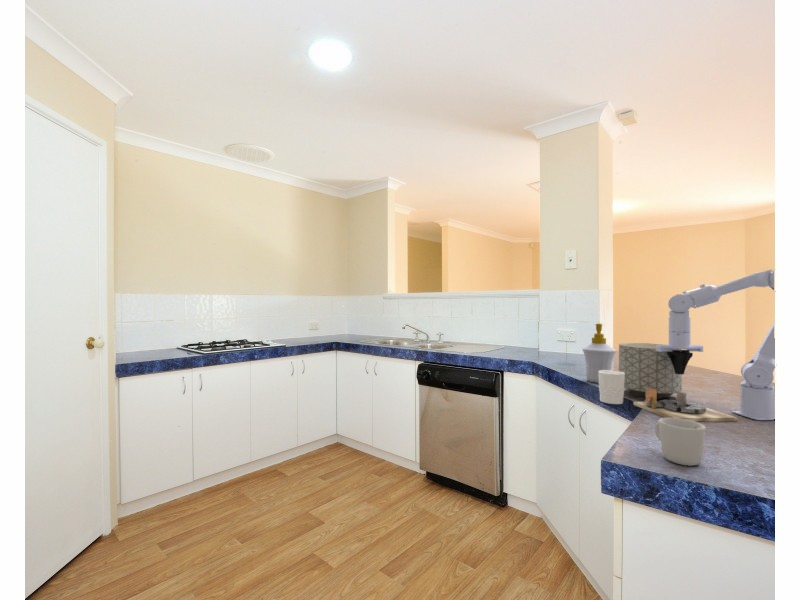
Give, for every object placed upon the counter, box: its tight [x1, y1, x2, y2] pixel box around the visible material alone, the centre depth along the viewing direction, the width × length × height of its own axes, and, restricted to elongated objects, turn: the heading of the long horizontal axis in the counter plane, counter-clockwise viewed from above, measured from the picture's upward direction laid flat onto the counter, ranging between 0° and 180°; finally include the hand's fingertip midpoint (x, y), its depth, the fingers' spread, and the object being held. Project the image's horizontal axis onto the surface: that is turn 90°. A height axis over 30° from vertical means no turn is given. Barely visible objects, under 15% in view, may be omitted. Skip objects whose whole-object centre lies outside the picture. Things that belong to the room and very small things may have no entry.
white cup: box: [598, 370, 625, 405], centre depth 130 cm, size 8×8×10 cm
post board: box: [633, 391, 738, 422], centre depth 118 cm, size 18×18×6 cm
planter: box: [618, 342, 683, 399], centre depth 139 cm, size 19×19×18 cm
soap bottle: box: [581, 323, 617, 384], centre depth 164 cm, size 13×13×25 cm
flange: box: [643, 388, 707, 413], centre depth 118 cm, size 15×11×5 cm
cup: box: [654, 417, 707, 467], centre depth 82 cm, size 11×8×8 cm
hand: (679, 373), depth 125 cm, fingers closed
